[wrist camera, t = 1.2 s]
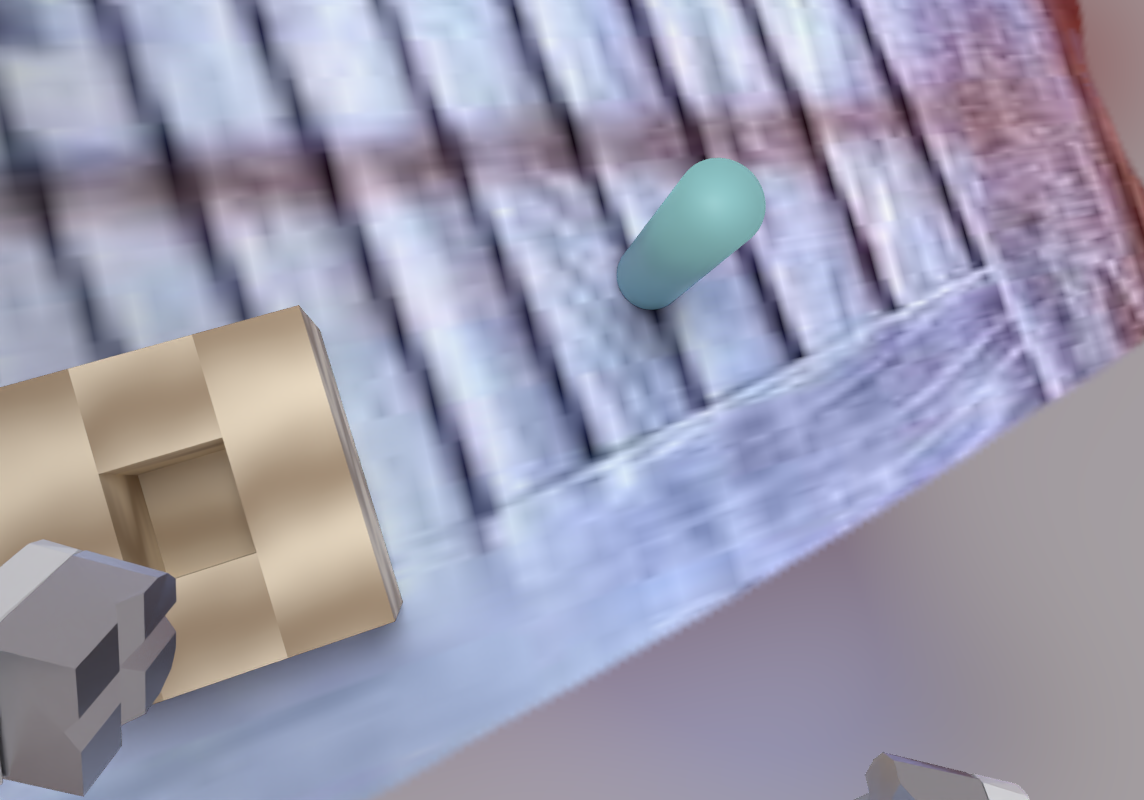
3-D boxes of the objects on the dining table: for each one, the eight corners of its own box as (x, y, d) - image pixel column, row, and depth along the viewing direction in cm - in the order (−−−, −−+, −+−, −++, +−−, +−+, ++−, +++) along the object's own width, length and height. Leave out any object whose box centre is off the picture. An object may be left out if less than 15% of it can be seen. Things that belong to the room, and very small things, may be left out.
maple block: (24, 413, 40) (-49, 400, 34) (319, 330, 43) (298, 305, 37) (106, 702, 40) (46, 740, 34) (402, 601, 42) (394, 621, 36)
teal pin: (607, 253, 45) (664, 170, 33) (671, 234, 46) (748, 148, 34) (628, 317, 45) (693, 258, 33) (692, 298, 45) (777, 234, 34)
